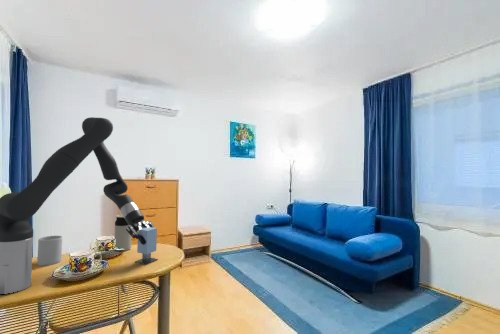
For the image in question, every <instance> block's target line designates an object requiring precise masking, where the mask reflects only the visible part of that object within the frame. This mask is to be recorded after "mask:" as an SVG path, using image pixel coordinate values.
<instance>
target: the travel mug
mask: <svg viewBox="0 0 500 334" xmlns="http://www.w3.org/2000/svg"><path fill="white" fill-rule="evenodd" d="M115 218H116V220H115V221H114V238H115V239H116V247H119V248H124V249H125V250H126V251H128V250H130V249H131V248H132V237H131V235H130V234H129V233H128V232H127V231H126V229H127V227H128V226H129V225H128V223H127V222H126V220H125V218H124V217H123V215H122V214H116V215H115Z"/></svg>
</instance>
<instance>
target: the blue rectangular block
mask: <svg viewBox="0 0 500 334" xmlns="http://www.w3.org/2000/svg"><path fill="white" fill-rule="evenodd" d="M140 232H141V234H142V235H141V236H143V237H144V239H145V240H146V243H145V244H144V245H142V244H141V243H140V241H139V239H137V249H136V250H137V253H139V254H142V253H143V254H149V253H151V254H152V253H154V252H156V251H157V244H158V243H157V238H158V236H157V235H158V228H157V227H155V228H152V227H148V228H147V227H146V228H142V229H141V230H140ZM138 234H139V233H138Z"/></svg>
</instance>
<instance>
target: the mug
mask: <svg viewBox="0 0 500 334" xmlns="http://www.w3.org/2000/svg"><path fill="white" fill-rule="evenodd" d="M62 250H63V236H61V235H50V236H49V235H48V236H43V237H40V238H38V241H37V258H36V261H37V262H36V263H37V266H40V267H43V266H45V267H47V266H51V265H56V264H59V263H60V262H62V258H63V257H62Z"/></svg>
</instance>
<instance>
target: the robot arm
mask: <svg viewBox="0 0 500 334" xmlns="http://www.w3.org/2000/svg"><path fill="white" fill-rule="evenodd" d="M81 129H82V132H83V135H82V136H80V137H79V138H77V139H75V140H72V141H71V142H68V143H67V144H65V145H63V146H62V147H60V148H59V149H57V150H55V152H54V153H52V155H50V156H49V157H48V159H46V160H45V161H44V163H43V164H42V167H41V168H40V170H39V172H38V173H37V176H36V177H35V178H34V179H33V181H32V182H31V183H29V184H28V185H27V186H26V187H25V188H24V189H22V190H21V191H19V192H9V193H6V194H3V195H2V196H0V294H7V293H10V294H12V293H13V292H14V293H17V291H18V292H20V291H23V290H24V291H25V290H26V289H28V288H29V287H30V286H32V276H33V275H32V270H33V267H32V266H33V250H34V249H33V248H34V247H33V246H34V229H33V228H32V226H31V224H30V218H31V217H34V215H35V214H36V213H37V212H38V211H39V210H40V209H41V208H42V205H44V203H45V202H46V201H47V200H48V198H49V197H50V196H51V194H52V193H53V192H54V191H55V190H56V189H57V188H58V187H59V186H60V185H61V184H62V183H63V182H64V181H65V180H66V179H67V178H68V177H69V176H70V175H71V174H72V173H73V172H74V171H75V169H77V168H78V167H79V165H80V164H81V163H82V162H83V161H84V160H85V159H87V157H88V156H89V155H90V154H91V153H92V152H93V153H94V155H95V157H96V159H97V161H98V164H99V167H100V170H101V173H102V176H103V179H104V180H106V181H112V180H115V181H113V182H110V183H108V184H105V185H104V186H103V191H102V192H103V193H104V195H105V196H106V197H107V198H108V199H109V200H110V201H112V202H113V203H114V204H115V205H116V206H117V208H118V209H119V211H120V213H121V215H123V217H124V218H125V220H126V222H127V223H128V225H129V226H128V227H127V229H126V231H127V232H128V233H129V234H130V235H131V239H134V240H135V239H137V240H138V239H139V241H140V243H141V244H142V245H144V244H145V243H146V240H145V239H144V237H143V236H141V235H142V234H141V232H140V230H141V229H142V228H146V227H147V228H148V227H152V228H156V227H155V225H154V223H153V221H152V220H149V221H146V220H145V216H144V214H143V213H142V211H141V210H140V208H139V207H138V205H137V204H136V203H135V202H134V201H133V199H132V197H131V196H130V195H129V194H125V193H127V191H128V187H129V186H128V184H127V183H126V181H125V180H124V179H123V177H122V176H121V174H120V171H119V167H118V163H117V161H116V159H115V158H114V156H113V155H112V153H111V152H110V151H109V149H108V148H107V146H106V144H105V143H104V142H105V141H106V140H107V139H108V138H109V137H110V136H111V135H112V132H113V130H114V126H113V122H112V121H110V119H108V118H104V117H87V118H85V119H83V121H82V123H81ZM138 233H139V234H138ZM14 293H13V294H14ZM7 295H8V294H7Z"/></svg>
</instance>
